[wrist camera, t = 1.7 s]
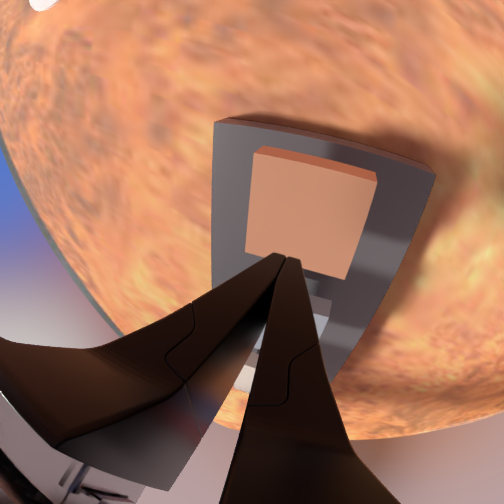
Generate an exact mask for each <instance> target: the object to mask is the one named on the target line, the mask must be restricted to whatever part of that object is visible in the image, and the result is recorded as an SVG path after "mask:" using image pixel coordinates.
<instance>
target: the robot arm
mask: <svg viewBox="0 0 504 504" xmlns="http://www.w3.org/2000/svg"><path fill="white" fill-rule="evenodd" d="M265 325H266V326H265ZM264 327H265V330H264V335H263V339H262V343H261V348H260V352H259V356H258V361H257V365H256V369H255V373H254V378H253V382H252V386H251V390H250V394H249V398H248V402H247V406H246V410H245V414H244V418H243V422H242V426H241V429H240V433H239V437H238V440H237V444H236V447H235V451H234V455H233V458H232V461H231V465H230V468H229V472H228V475H227V478H226V482H225V485H224V488H223V491H222V495H221V498H220V501H219V504H401V503H400V502H399V501H398V500H397V499H396V498H395V497H394V496H393V495H392V494H391V493H390V492H389V491H388V490H387V488H386V487H385V486H384V485H383V484H382V483H381V482H380V481H379V480H378V479H377V477H376V476H375V475H374V474H373V473H372V472H371V471H370V470H369V468H368V467H367V466H366V465H365V464H364V463H363V462H362V460H361V459H360V458H359V457H358V455H357V454H356V453H355V451H354V449H353V447H352V445H351V443H350V441H349V439H348V436H347V433H346V430H345V427H344V424H343V421H342V418H341V415H340V412H339V409H338V407H337V404H336V401H335V398H334V395H333V392H332V389H331V386H330V382H329V379H328V376H327V373H326V369H325V364H324V360H323V356H322V351H321V346H320V344H319V338H318V333H317V328H316V324H315V319H314V315H313V310H312V306H311V301H310V297H309V293H308V289H307V284H306V280H305V276H304V272H303V268H302V264H301V260H300V259H297V258H294V257H290V256H288V257H286V256H285V255H283V254H279V253H276V252H273V253H271V254H269V255H268V256H266V257H265V258H263V259H261V260H260V261H258V262H256V263H255V264H253V265H251V266H250V267H248V268H247V269H245V270H243V271H242V272H240V273H238V274H237V275H235V276H233V277H232V278H230V279H229V280H227V281H225V282H224V283H222V284H220V285H219V286H217V287H215V288H214V289H212V290H210V291H209V292H207V293H205V294H204V295H202V296H200V297H199V298H197V299H195V300H194V301H192V303H189V304H187V305H185V306H184V307H182V308H180V309H179V310H177V311H175V312H173V313H171V314H170V315H168V316H166V317H164V318H162V319H160V320H158V321H156V322H154V323H152V324H150V325H148V326H146V327H143V328H141V329H139V330H137V331H134V332H132V333H130V334H128V335H125V336H123V337H121V338H119V339H116V340H114V341H112V342H110V343H107V344H105V345H102V346H98V347H94V348H87V349H77V348H61V347H50V346H40V345H31V344H22V343H16V342H11V341H9V340H6V339H4V338H2V337H0V504H136V502H137V500H138V499H139V497H140V495H141V493H142V492H143V490H144V488H145V486H149V487H153V488H156V489H160V490H164V491H169V490H170V488H171V487H172V485H173V484H174V482H175V480H176V479H177V477H178V476H179V474H180V473H181V471H182V470H183V468H184V467H185V465H186V463H187V462H188V460H189V459H190V457H191V455H192V454H193V452H194V451H195V449H196V447H197V446H198V444H199V442H200V441H201V438H202V437H203V436H204V434H205V433H206V431H207V429H208V428H209V426H210V424H211V423H212V421H213V419H214V417H215V416H216V414H217V412H218V411H219V409H220V407H221V405H222V404H223V402H224V400H225V399H226V397H227V395H228V393H229V392H230V390H231V388H232V386H233V385H234V383H235V381H236V379H237V377H238V376H239V374H240V372H241V370H242V368H243V367H244V365H245V363H246V361H247V359H248V357H249V356H250V354H251V352H252V350H253V348H254V346H255V344H256V343H257V341H258V339H259V337H260V335H261V333H262V331H263V329H264Z"/></svg>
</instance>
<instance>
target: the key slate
mask: <svg viewBox="0 0 504 504" xmlns="http://www.w3.org/2000/svg"><path fill="white" fill-rule="evenodd" d="M309 297H310V301H311V306H312V310H313V315H314V319H315V324H316V328H317V333H318V338H319V339H320V336H321V334H322V332H323V330H324V328H325V325H326V323H327V321H328V319H329V315H330V309H331V304H332V301H331V300H327V299H324V298H320V297H317V296H313V295H310V294H309ZM265 326H266V325H265ZM264 330H265V327H264V329H263V331H262V333H261V335H260V337H259V339H258V341H257V343H256V344H255V346H254V348H256V349H259V350H260V348H261V343H262V339H263V335H264Z"/></svg>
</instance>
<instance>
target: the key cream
mask: <svg viewBox="0 0 504 504" xmlns="http://www.w3.org/2000/svg"><path fill="white" fill-rule="evenodd" d="M259 352H260V350H259V351H258V354H256V353H253V352H251V354H250V356H249V357H248V359H247V361H246V363H245V365H244V367H243V368H242V370H241V372H240V374H239V376H238V377H237V379H236V381H235V383H234V388H235V389H238V390H241V391H244V392H247V393H250V390H251V386H252V382H253V378H254V373H255V369H256V365H257V361H258V356H259Z"/></svg>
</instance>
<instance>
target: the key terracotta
mask: <svg viewBox="0 0 504 504" xmlns="http://www.w3.org/2000/svg"><path fill="white" fill-rule="evenodd" d="M376 186H377V178H376V173H375V172H373V171H369V170H366V169H363V168H359V167H356V166H352V165H348V164H344V163H341V162H337V161H333V160H329V159H325V158H321V157H316V156H312V155H308V154H303V153H299V152H294V151H289V150H284V149H279V148H274V147H269V146H262V147H261V148H260V149H258V150H257V151H256V152H254V156H253V167H252V177H251V188H250V200H249V211H248V222H247V233H246V245H245V252H247V253H250V254H254V255H257V256H261V257H264V258H265V257H266V256H268V255H269V254H271V253H273V252H276V253H279V254H283V255H285V256H286V257H288V256H290V257H294V258H297V259H300V260H301V264H302V268H304V269H307V270H311V271H314V272H318V273H321V274H325V275H328V276H332V277H336V278H339V279H343V280H345V277H346V275H347V272H348V270H349V267H350V264H351V262H352V259H353V256H354V253H355V251H356V248H357V245H358V242H359V239H360V236H361V234H362V231H363V228H364V225H365V222H366V219H367V215H368V212H369V209H370V206H371V203H372V200H373V196H374V193H375V189H376Z"/></svg>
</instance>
